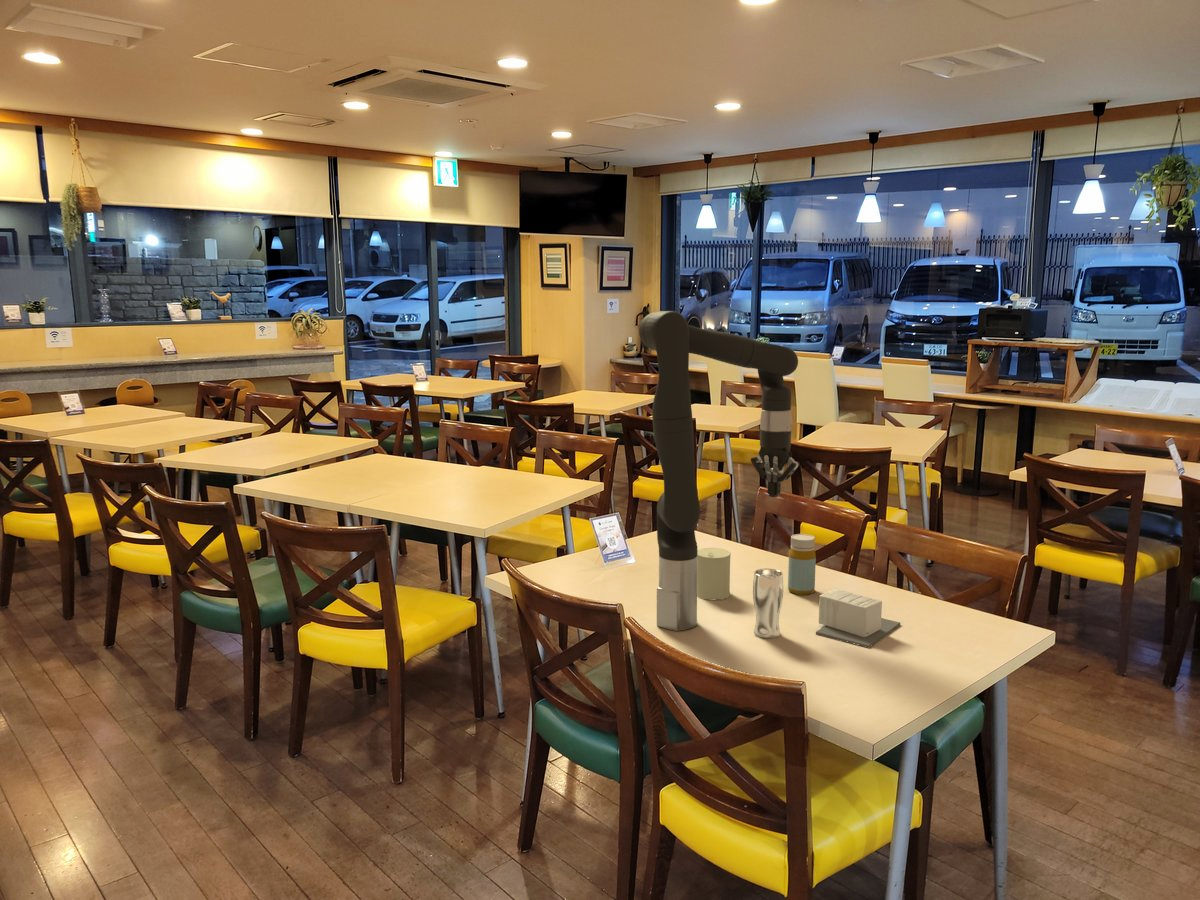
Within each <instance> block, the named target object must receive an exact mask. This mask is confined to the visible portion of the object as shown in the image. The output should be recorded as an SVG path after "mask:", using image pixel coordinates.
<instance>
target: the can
mask: <svg viewBox="0 0 1200 900" xmlns="http://www.w3.org/2000/svg"><path fill="white" fill-rule="evenodd" d="M730 585H731V551H730V550H728V549H725V548H718V547H706V548H701V549H697V598H699V597H700V599H702V598H703V599H702V600H706V599H709V600H708V601H712V600H711V599H715V600H714V601H717V600H716V599H722V600H725V599H724V598H726V599H728V598H730V596H731V589H730V587H731V586H730ZM727 597H728V598H727Z"/></svg>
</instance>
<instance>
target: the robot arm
mask: <svg viewBox="0 0 1200 900" xmlns="http://www.w3.org/2000/svg"><path fill="white" fill-rule="evenodd" d="M638 335H639V338H640V340H641V342H642V344H644V346H646V347H647V348H648V349H650V350H653V351H655V352H656V359H657V368H658V379H657V380H658V381H657V385H656V389H655V393H654V397H653V403H652V410H651V413H652V414H651V417H652V418H651V420H652V428H653V429H652V430H653V436H654V437H653V439H654V442H655V443H654V444H655V448H656V452H657V456H658V459H659V463H660V466H661V471H662V475H663V492H661V493H662V494H660V496H659V498H658V500H657V504H656V537H657V538H656V540H657V545H658V587H657V588H656V626H657V627H661V628H664V629H667V630H669V631H674V632H679V631H682V630H683V631H684V630H690V629H693V628H694V627H696V626H697V624H698V623H697V621H698V617H697V616H698V596H697V551H698V543H697V538H696V532H695V531H696V530H695V527H696V526H697V524H698V523H699V522H700V521H699V520H700V518H701V512H702V511H701V504H700V500H699V494H698V487H697V482H696V477H695V476H696V475H695V445H694V444H695V442H694V441H695V440H694V421H693V411H692V401H691V399H692V398H691V385H690V374H689V372H690V371H689V365H690V364H689V362H690V361H689V359H690V356H689V355H690V354H691V355H692V354H694V355H697V356H700V357H705V358H707V359H708V358H709V359H712V360H715V361H718V362H722V363H725V364H729V365H733V366H735V367H736V366H737V367H741V368H746V369H754V370H757V373H758V375H757V376H758V379H759V380H758V381H759V385H760V388H761V413H760V422H759V425H760V426H759V445H760V449H759V450H758V454H757V455H756V456H754V457H751V458H750V463H752V465H753V467H754V468H755V470H756V472H757V473H758V476H759V477H760V478H761V479H762V480H763V479H764V480H766V481H767V494H768V496H769V498H777V497H779V495H780V494H781V489H782V487H781V485H782V483H783V482H784V481H787V480H789V478H790V477H791V476H792V475H793V474H794V473H795V471H796V470H797V469H798V468H799V467H800V462H799V461H795V459H794V458H793V457H792V456H793V454H792V452H791V446H792V427H793V425H792V421H793V419H792V411H791V410H792V390H791V388H790V387H789V386H788V385H786V384H785V381H784V377H786V376H789V375H792V374H793V373H794V372H795V371H796V370H797V368H798V366H799V358H798V356H797V353H796V352H795V351H794V350H793V349H792V348H790V347H787V346H783V345H779V344H775V343H768V342H762V341H759V340H755V339H753V338H750V337H748V336H747V337H746V336H742V335H738V334H735V333H729V332H724V331H717V330H712V329H706V328H700V327H696V326H693V325H689V324H688V321H687V320H686V317H684V315H682V314H681V313H679V312H678V311H675V310H658V311H654V312H651V313H648V314H646V315H645V317H643V319H642V320H641V322H640V324H639V327H638ZM786 465H787V466H786ZM785 467H787V468H786V469H785ZM784 470H785V471H784Z"/></svg>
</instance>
